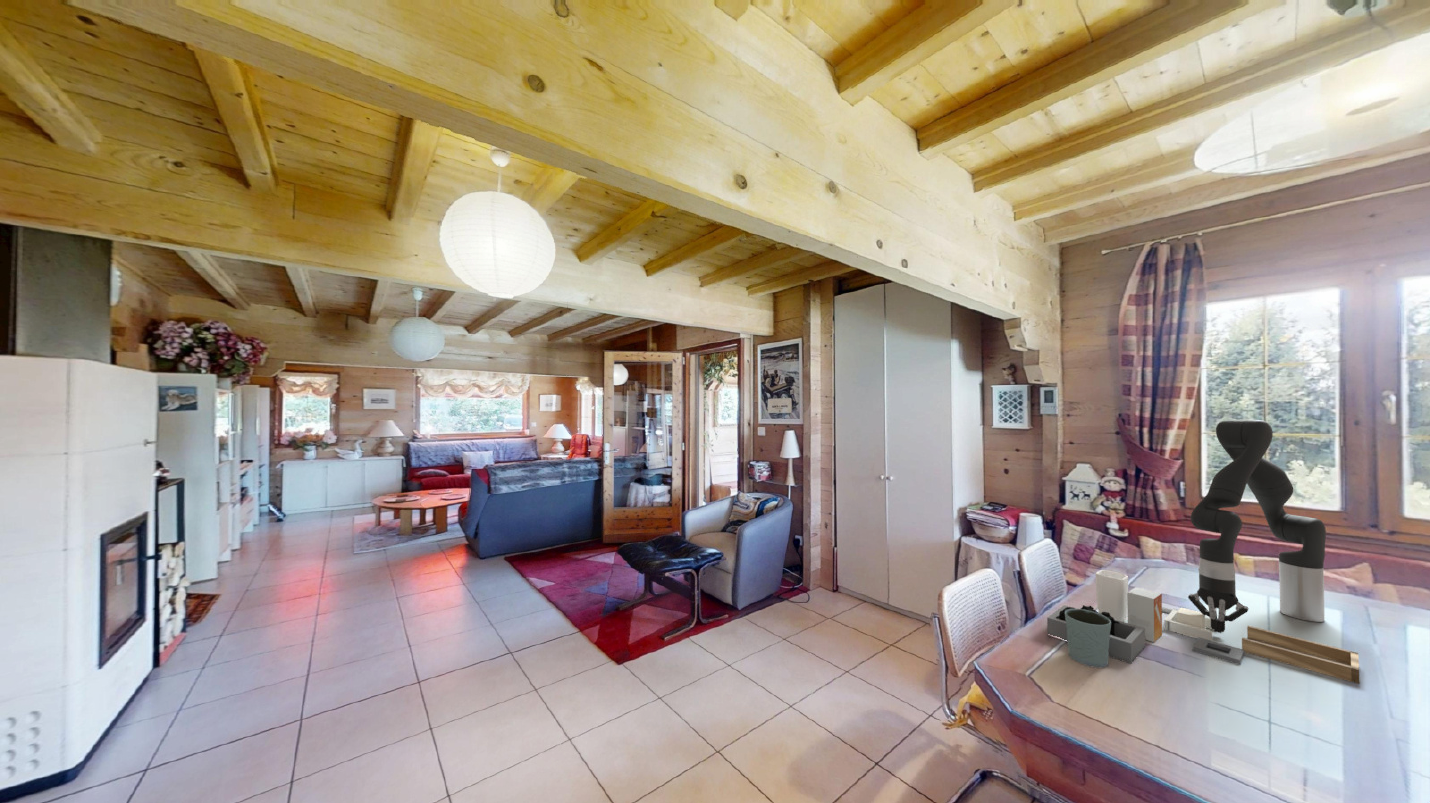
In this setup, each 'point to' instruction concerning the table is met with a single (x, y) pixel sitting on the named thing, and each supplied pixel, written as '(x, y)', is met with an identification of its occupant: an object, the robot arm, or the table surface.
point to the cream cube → (1191, 618)
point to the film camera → (1062, 613)
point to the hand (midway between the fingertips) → (1217, 631)
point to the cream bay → (1187, 627)
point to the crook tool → (1166, 610)
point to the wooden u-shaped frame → (1299, 658)
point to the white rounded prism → (1112, 593)
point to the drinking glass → (1088, 637)
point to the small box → (1146, 611)
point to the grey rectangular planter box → (1120, 646)
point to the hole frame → (1218, 650)
